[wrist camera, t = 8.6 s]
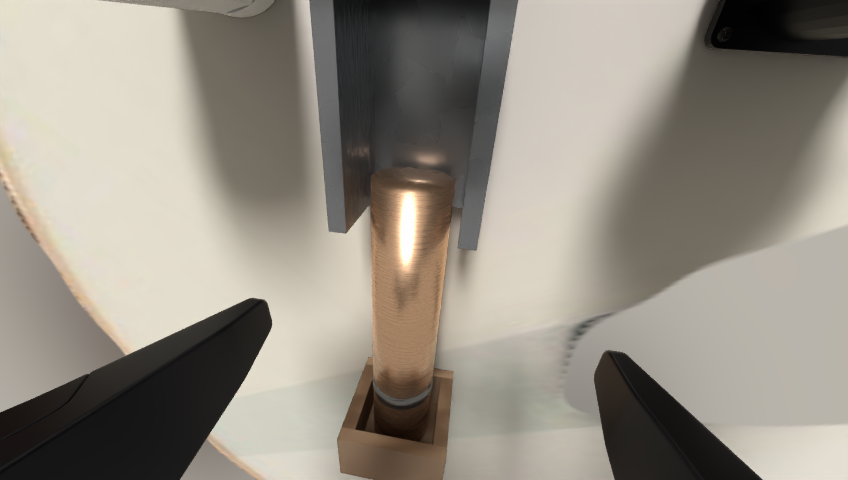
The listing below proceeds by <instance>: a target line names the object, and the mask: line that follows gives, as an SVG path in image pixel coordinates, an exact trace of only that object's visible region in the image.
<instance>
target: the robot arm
mask: <svg viewBox="0 0 848 480" xmlns="http://www.w3.org/2000/svg"><path fill="white" fill-rule="evenodd" d="M722 29H725V32H726V34H725V37H724V38H723V40H721V41H719V40H718V38H717V37H718V34H719V32H720V31H721V30H722ZM705 45H706V46H707V47H708V48H710V49H716V50H732V51H748V52H763V53H779V54H795V55H811V56H826V57H842V58H848V0H720V1H719V4H718V6H717V9H716V11H715V14H714V16H713V18H712V21H711V23H710V26H709V28H708V31H707V33H706V36H705ZM271 327H272V319H271V315H270V311H269V307H268V304H267V302H266V301H265V300H263V299H257V298H249V299H247V300H245V301H243V302H241V303H238V304H236V305H234V306H232V307H230V308H228V309H226V310H223V311H221V312H219V313H217V314H215V315H213V316H210V317H208V318H206V319H204V320H202V321H200V322H198V323H195V324H193V325H191V326H189V327H187V328H185V329H182V330H180V331H178V332H176V333H174V334H172V335H170V336H167V337H165V338H163V339H161V340H159V341H157V342H154V343H152V344H150V345H148V346H146V347H144V348H142V349H139V350H137V351H135V352H133V353H131V354H129V355H126V356H124V357H122V358H120V359H118V360H116V361H114V362H112V363H109V364H107V365H105V366H103V367H101V368H99V369H96V370H94V371H92V372H91V373H90V374H86V375H83V376H81V377H79V378H77V379H75V380H73V381H71V382H68V383H66V384H64V385H62V386H60V387H58V388H55V389H53V390H51V391H49V392H46V393H44V394H42V395H40V396H38V397H35V398H33V399H31V400H28V401H26V402H24V403H21V404H19V405H17V406H14V407H12V408H10V409H7V410H5V411H3V412H0V480H180V478H181V477H182V476H183V474H184V472H185V471H186V469H187V468H188V466H189V465H190V463H191V462H192V460H193V459H194V457H195V456H196V454H197V452H198V451H199V449H200V448H201V446H202V445H203V443H204V442H205V440H206V439H207V437H208V435H209V434H210V432H211V431H212V429H213V428H214V426H215V425H216V423H217V422H218V420H219V419H220V417H221V415H222V414H223V412H224V411H225V409H226V408H227V406H228V405H229V403H230V402H231V400H232V398H233V397H234V395H235V394H236V392H237V391H238V389H239V388H240V386H241V384H242V383H243V381H244V380H245V378H246V376H247V374H248V372H249V371H250V369H251V367H252V365H253V363H254V361H255V359H256V357H257V355H258V353H259V351H260V349H261V348H262V346H263V344H264V342H265V340H266V338H267V336H268V334H269V332H270V330H271ZM594 383H595V389H596V395H597V401H598V406H599V412H600V418H601V424H602V430H603V435H604V440H605V446H606V449H607V453H608V457H609V461H610V464H611V468H612V471H613V475H614V479H615V480H762V479H761V478H760V477H759V476H758V475H757V474H756V473H755V472H754V471H753V470H752V469H750V468H749V467H748V466H747V465H746V464H745V463H744V462H743V461H742V460H741V459H740V458H739V457H737V456H736V455H735V454H734V453H733V452H732V451H731V450H730V449H729V448H728V447H727V446H725V445H724V444H723V443H722V442H721V441H720V440H719V439H718V438H717V437H716V436H715V435H713V434H712V433H711V432H710V431H709V430H708V429H707V428H706V427H705V426H704V425H703V424H702V423H700V422H699V421H698V420H697V419H696V418H695V417H694V416H693V415H692V414H691V413H690V412H688V411H687V410H686V409H685V408H684V407H683V406H682V405H681V404H680V403H679V402H677V401H676V400H675V399H674V398H673V397H672V396H671V395H670V394H669V393H668V392H667V391H666V390H665V389H663V388H662V387H661V386H660V385H659V384H658V383H657V382H656V381H655V380H654V379H652V378H651V377H650V376H649V375H648V374H647V373H646V372H645V371H644V370H642V368H641V367H639V366H638V365H637V364H636V363H635V362H634V361H633V360H632V359H631V358H630V357H629V356H627V355H626V354H625V353H623V352H617V351H611V350H607V351H605V352H604V353H603V354H602V357H601V359H600V361H599V364H598V366H597V368H596V371H595V374H594Z"/></svg>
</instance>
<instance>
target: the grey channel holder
mask: <svg viewBox="0 0 848 480" xmlns="http://www.w3.org/2000/svg"><path fill="white" fill-rule="evenodd" d="M309 1H310V13H311V25H312V37H313V49H314V61H315V73H316V85H317V96H318V108H319V120H320V132H321V144H322V156H323V168H324V180H325V192H326V204H327V216H328V228H329V231H330V232H338V233H347V232H348V230H349V229H350V228H351V227H352V226H353V224H354V223H355V222H356V221H357V219H358V218H359V217H360V216H361V215H362V213H363V212H364V211H365V210H366V208H367V207H368V206H369V205H370V204H371V176H372V174H373V173H375V172H377V171H379V170H382V169H387V168H394V167H418V168H426V169H432V170H436V171H440V172H443V173H445V174H447V175H449V176H451V177H452V178H453V179H454V180H455V189H454V198H453V206H452V207H456V208H462V216H461V224H460V233H459V242H458V248H460V249H468V250H477V244H478V238H479V232H480V226H481V220H482V214H483V208H484V202H485V196H486V190H487V184H488V178H489V172H490V166H491V160H492V154H493V148H494V142H495V136H496V130H497V124H498V118H499V112H500V106H501V100H502V94H503V88H504V82H505V76H506V70H507V64H508V58H509V52H510V46H511V40H512V34H513V28H514V22H515V15H516V9H517V3H518V0H309Z"/></svg>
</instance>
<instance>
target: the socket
mask: <svg viewBox="0 0 848 480" xmlns="http://www.w3.org/2000/svg"><path fill="white" fill-rule="evenodd" d="M452 381H453V372H452V371H446V370H440V369H433V384H432V390H431V395H430V403H429V412H428V421H427V428H426V432H425V434H424V436H423V438H422V439H421V440H420V441H419V442H416V441H411V440H406V439H401V438H396V437H390V436H385V435H380V434H376V433H375V429H374V390H373V358H370V357H368V360H367V363H366V365H365V368H364V370H363V373H362V376H361V378H360V381H359V383H358V386H357V389H356V391H355V394H354V396H353V399H352V402H351V404H350V407H349V409H348V412H347V415H346V417H345V420H344V422H343V425H342V428H341V430H340V433H339V435H338V438H337V444H338V453H339V462H340V472H341V473H345V474H349V475H354V476H359V477H364V478H369V479H373V480H442V479H443V474H444V468H445V463H446V453H447V441H448V429H449V417H450V405H451V393H452Z"/></svg>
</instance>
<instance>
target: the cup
mask: <svg viewBox="0 0 848 480" xmlns="http://www.w3.org/2000/svg"><path fill="white" fill-rule="evenodd" d="M101 1H111V2H120V3H130V4H139V5H149V6H159V7H168V8H178V9H187V10H197V11H206V12H215V13H219V14H224V15H228V16H233V17H241V18H242V17H251V16H255V15H258V14H260V13H262V12H264V11H265V10H267V9H268V8H269V7H270V6H271V5H272V4H273V3H274V2H275V1H276V0H101Z"/></svg>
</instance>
